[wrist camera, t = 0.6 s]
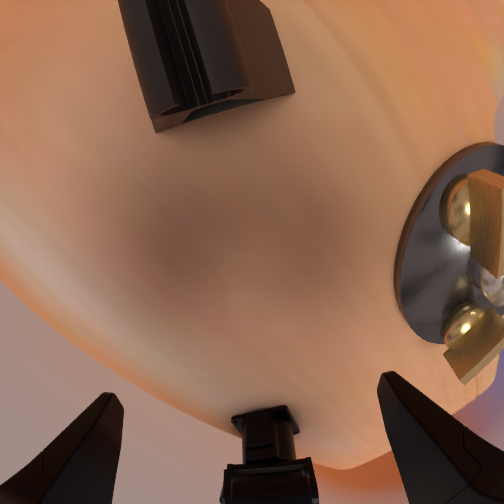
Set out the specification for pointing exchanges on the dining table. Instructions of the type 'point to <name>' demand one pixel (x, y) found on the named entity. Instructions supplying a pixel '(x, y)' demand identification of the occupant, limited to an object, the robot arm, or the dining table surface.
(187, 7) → the phone stand
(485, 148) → the levelling base
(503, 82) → the dining table surface
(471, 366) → the wing knob
